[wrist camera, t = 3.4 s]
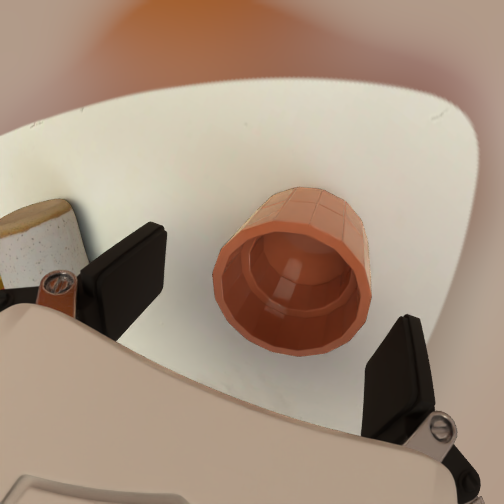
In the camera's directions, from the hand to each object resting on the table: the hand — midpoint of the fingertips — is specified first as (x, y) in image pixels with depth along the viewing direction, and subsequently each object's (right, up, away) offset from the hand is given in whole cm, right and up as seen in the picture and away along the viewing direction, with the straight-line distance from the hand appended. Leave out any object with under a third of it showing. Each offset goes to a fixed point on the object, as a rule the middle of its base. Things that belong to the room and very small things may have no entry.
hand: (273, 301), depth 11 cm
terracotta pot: (+2, +2, +4) cm, 5 cm away
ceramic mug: (-16, +3, +11) cm, 20 cm away
